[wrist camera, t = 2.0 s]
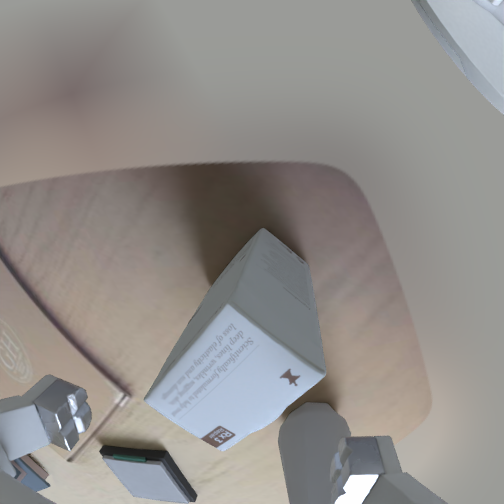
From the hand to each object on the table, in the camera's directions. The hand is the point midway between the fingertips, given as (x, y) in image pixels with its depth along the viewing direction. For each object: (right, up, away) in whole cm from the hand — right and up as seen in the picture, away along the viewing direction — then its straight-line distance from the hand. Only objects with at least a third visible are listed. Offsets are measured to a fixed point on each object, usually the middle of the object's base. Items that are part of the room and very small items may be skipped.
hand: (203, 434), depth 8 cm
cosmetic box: (+2, +4, +14) cm, 14 cm away
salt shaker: (+7, -9, +16) cm, 19 cm away
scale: (-10, -20, +21) cm, 31 cm away
